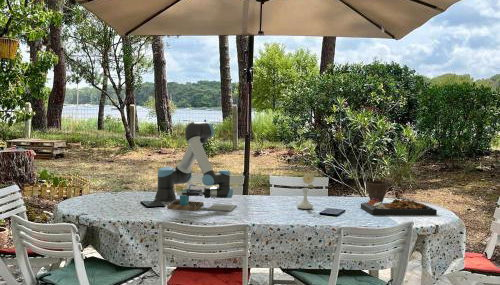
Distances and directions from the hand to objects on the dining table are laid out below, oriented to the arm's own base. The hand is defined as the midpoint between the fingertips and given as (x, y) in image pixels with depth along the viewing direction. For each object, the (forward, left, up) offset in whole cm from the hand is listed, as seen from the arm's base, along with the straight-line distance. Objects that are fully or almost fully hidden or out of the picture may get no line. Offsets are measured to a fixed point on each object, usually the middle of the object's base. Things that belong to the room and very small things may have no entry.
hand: (176, 192), depth 425 cm
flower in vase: (+86, +22, -10) cm, 90 cm away
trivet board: (+31, +4, -10) cm, 33 cm away
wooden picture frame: (+6, +1, -10) cm, 12 cm away
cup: (+6, +1, -10) cm, 11 cm away
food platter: (+149, +32, -11) cm, 152 cm away
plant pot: (+134, +59, -10) cm, 147 cm away
